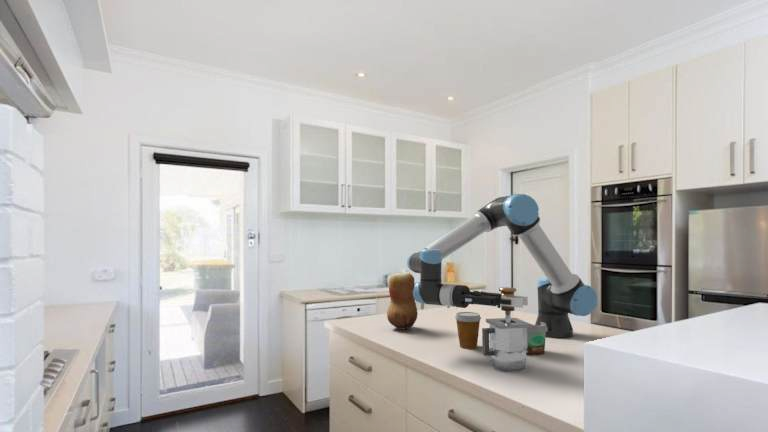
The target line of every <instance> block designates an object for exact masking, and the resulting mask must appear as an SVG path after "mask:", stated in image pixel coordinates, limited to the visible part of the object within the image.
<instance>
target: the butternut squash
mask: <svg viewBox="0 0 768 432" xmlns="http://www.w3.org/2000/svg"><path fill="white" fill-rule="evenodd" d="M388 283H389V284H388V285H389V286H388V293H389V296H390V303H389V305H388V308H387V311H386V313H387V314H386V316H387V318H386V319H387V320H388V323H389V324H391V325H392V326H393V327H395V329H399V330H408V329H410V328H412V327H413V326H414V324H415V323H416V321H417V320H418V309H417V303H416V300H415V299H414V296H413V290H414V286H415V284H416V283H415V277H414V276H413V274H412V273H411V272H408V271H403V272H397V273H393V274H392V275H391V276H390V277H389V280H388Z"/></svg>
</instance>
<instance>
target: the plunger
mask: <svg viewBox="0 0 768 432" xmlns="http://www.w3.org/2000/svg"><path fill="white" fill-rule="evenodd" d="M498 291H499V292H500V294H501V297H512V298H514V295H515V292H517V288H516V287H510V286H509V287H508V286H507V287H503V286H502V287H498ZM500 310H501V311H504V312H505V313H504V314H505V316H504V318H505V323H511V318H512V317H511V313H512V312H515V307H510V306H501V308H500Z"/></svg>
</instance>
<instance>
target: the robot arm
mask: <svg viewBox="0 0 768 432" xmlns="http://www.w3.org/2000/svg"><path fill="white" fill-rule="evenodd" d="M536 201H537V200H535V198H533V197H532V196H530V195H528V194H525V193H515V194H511V195H506V196H499V197H496V198H495V199H492V200H491V201H490V202H489V203H487V204H486V205H484V206H482V207H481V208H480V209H478V210H477V211H475V212H474V215H473V216H472V217H470V218H469V219H468V220H465V221H464V222H463V223H461V224H460V225H458V226H457V227H455V228H453V229H452V230H450V231H449V232H447V233H446V234H445V235H443V236H441V237H439V238H438V239H436V240H434V242H431V244H428V245H427V246H426V247H424V248H422V249H421V250H420V251H418V252H414V253H412V254H410V255H409V256H408V258H407V259H406V265H407V268H408V269H409V270H410V271H412V272H413V273H416V274H419V276H420V278H419V279H420V281H418V282H416V283H414V284H415V286H414V290H413V296H414V299H415V302H417V303H419V304H423V305H424V304H425V305H430V306H431V305H433V306H434V305H435V306H446V307H447V309H450V307H453V308H454V307H456V308H462V309H466V308H467V307H469V305H479V306H480V305H481V306H489V307H490V306H491V307H497V308H498V309H501V306H510V307H514V308H523V309H524V306H528V305H529V303H528V302H529V300H528V298H529V297H528V296H526V295H525V296H524V295H515V294H514V298H512V297H501V292H500V293H498V292H487V291H483V290H482V291H479V290H473V291H471V290H470V287H469V286H468V285H466V284H465V285H464V284H453V283H442V261H443V260H444V259H446V258H448V257H449V256H450V255H452V254H453V253H454V252H456V251H458V250H459V249H461V248H462V247H464V246H465V245H467V244H468V243H470V242H472V241H473V240H474V239H476V238H477V237H479V236H480V235H482V234H484V233H490V232H491V231H494V230H495V229H497V228H500V227H507V228H508V230H509V232H511V235H513V236H514V237H519V239H520V240H521V241H522V244H523V245H524V247H526V249H527V251H528V252H529V253H530V255H531V257H532V258H533V259H534V261H535V262H536V264H537V265H538V267H539V268H540V269H541V271H542V272H543V274H544V276H545V277H546V278H541V279H539V280H538V282H537V286H536V287H537V288H536V289H537V309H538V310H537V313H538V314H537V317H536V320H535V323H534V325H538V324H540V322H544V323H546V325H547V328H548V331H547V332H546V336H545V338H546V337H547V338H556V339H566V338H571V337H574V329H573V326H572V323H571V321H570V317H569V314H571V315H574V316H580V317H586V316H588V315H591V314H592V313H593V312H594V311H595V309H596V307H597V303H598V294H597V291H596V290H595V289H594V288H593V286H591V285H586V284H585V283H584V282H583V280H582V279H581V278H580V276H579V275H578V274H576V273H572V272H571V270H570V269H569V267H568V266H567V264H566V262H565V261H564V260H563V258H562V257H561V255H560V254H559V252H558V250H557V249H556V248H555V246H554V245H553V243H552V242H551V240H550V239H549V237H548V236H547V234H546V233H545V232H544V230H543V228H542V227H541V225H540V223H541V218H540V216H539V215H540V212H539V211H540V209H539V205H538V202H536Z"/></svg>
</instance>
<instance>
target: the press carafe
mask: <svg viewBox="0 0 768 432" xmlns="http://www.w3.org/2000/svg"><path fill="white" fill-rule="evenodd" d="M485 323H487V324H489V327H482V328H481V332H482V335H481V337H482V338H481V339H482V343H481V345H482V349H481V350H482V355H483V356H484V357H488V356H489V357H490V356H491V367H492V368H493V369H495V370H498V371H500V372H501V371H502V372H506V373H507V372H508V373H520V372H525V371H526V370H527V355H526V349H527V328H532V325H533V324H532V323H529V322H527V321H525V320H522V319H520V318H517V317H511V323H505V317H502V318H501V317H500V318H486V319H485ZM490 348H491V349H490Z"/></svg>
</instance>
